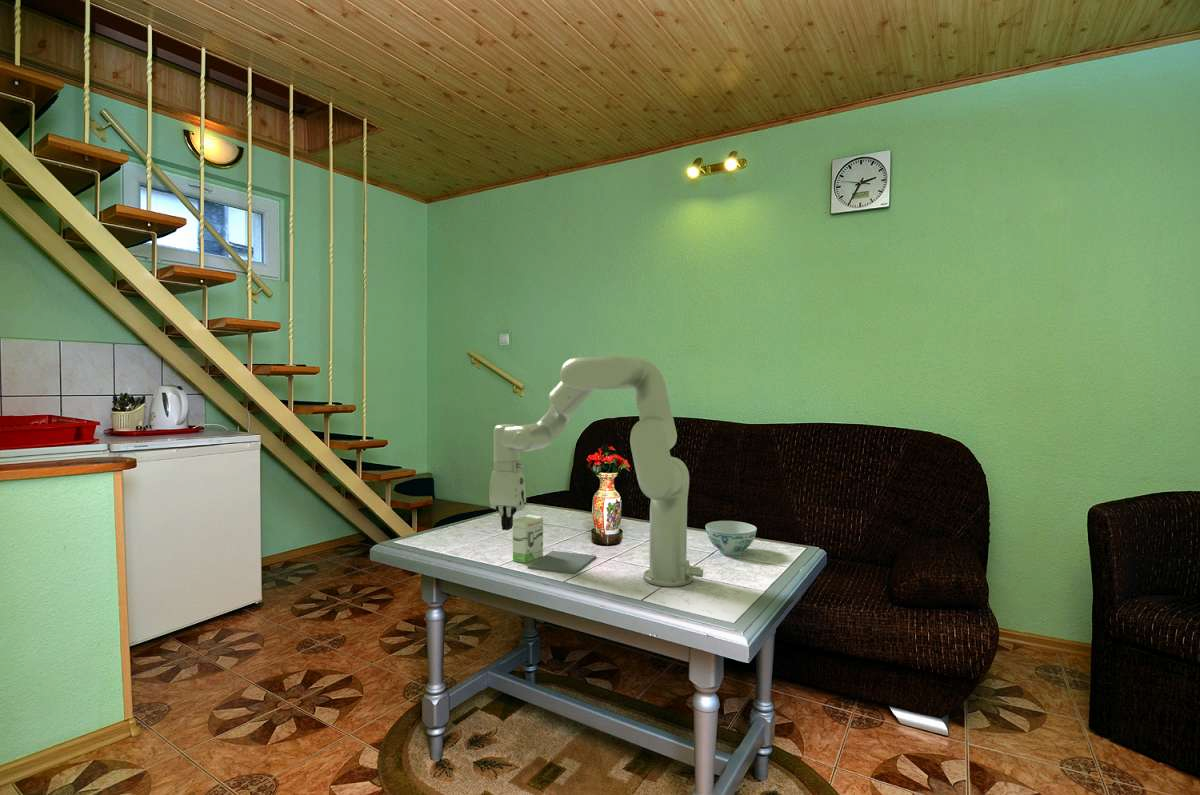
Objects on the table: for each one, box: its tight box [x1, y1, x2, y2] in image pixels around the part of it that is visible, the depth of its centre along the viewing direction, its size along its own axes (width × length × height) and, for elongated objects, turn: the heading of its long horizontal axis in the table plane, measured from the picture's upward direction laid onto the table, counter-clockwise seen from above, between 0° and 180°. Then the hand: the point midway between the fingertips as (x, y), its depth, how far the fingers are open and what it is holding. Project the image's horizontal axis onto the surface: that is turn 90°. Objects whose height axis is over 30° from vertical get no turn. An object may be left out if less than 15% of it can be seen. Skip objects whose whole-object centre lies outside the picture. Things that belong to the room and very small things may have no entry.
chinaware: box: [705, 520, 758, 557], centre depth 176 cm, size 15×15×8 cm
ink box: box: [512, 514, 544, 564], centre depth 169 cm, size 9×5×12 cm, turn 149°
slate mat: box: [527, 550, 597, 575], centre depth 165 cm, size 14×16×1 cm
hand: (507, 529), depth 171 cm, fingers closed
